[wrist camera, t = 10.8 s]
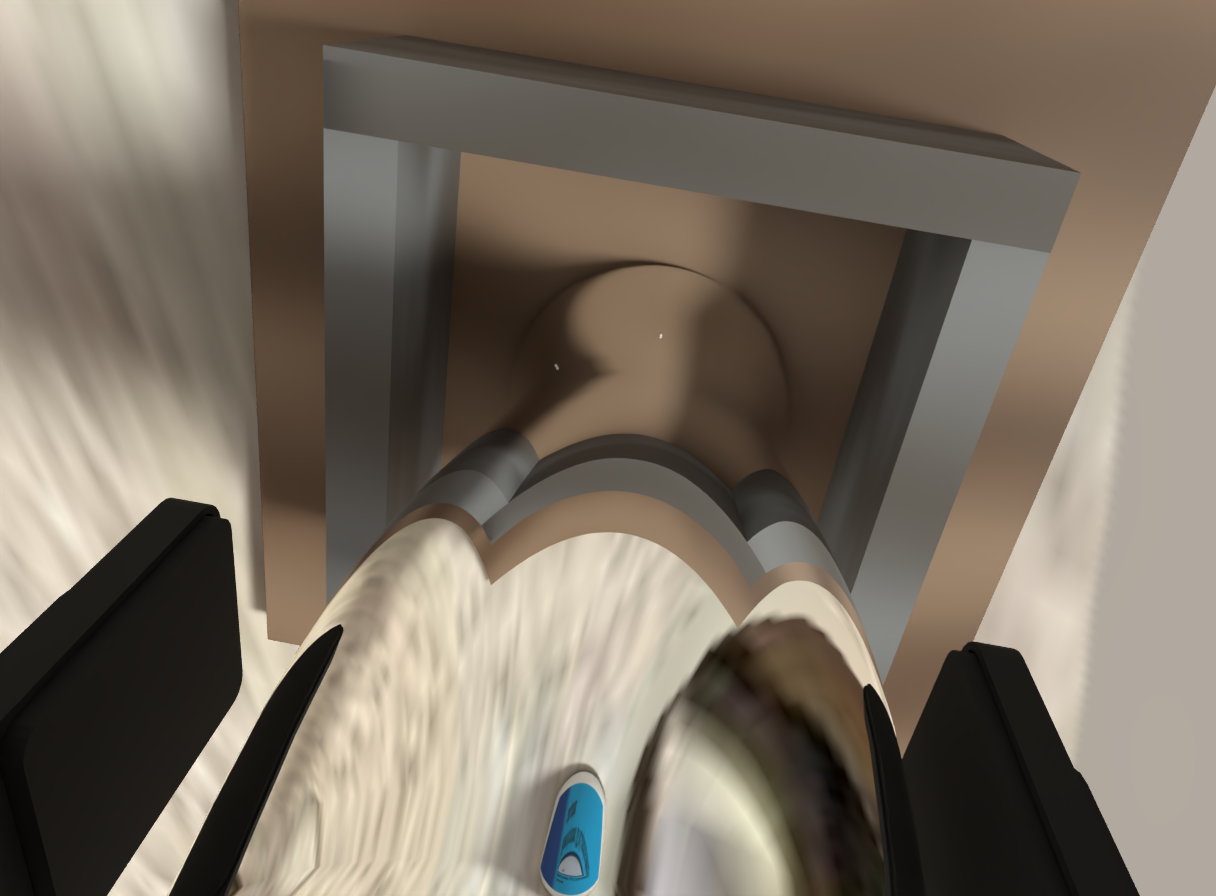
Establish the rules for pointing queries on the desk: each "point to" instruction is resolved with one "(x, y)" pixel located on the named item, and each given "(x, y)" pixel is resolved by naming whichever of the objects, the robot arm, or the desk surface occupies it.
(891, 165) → the u rest
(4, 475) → the desk surface
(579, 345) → the beer glass
